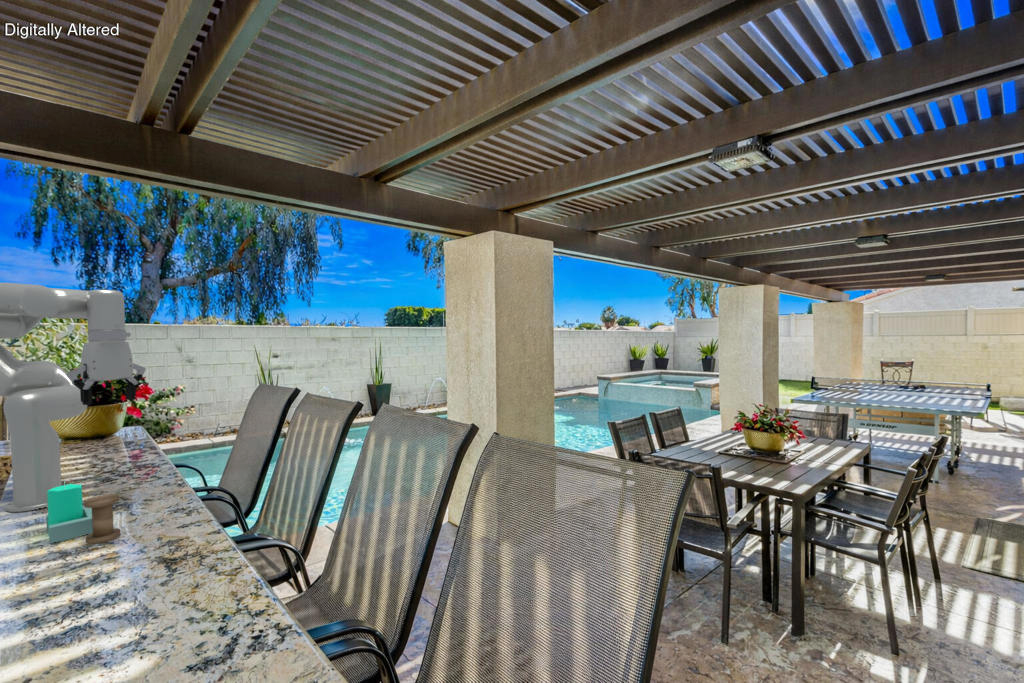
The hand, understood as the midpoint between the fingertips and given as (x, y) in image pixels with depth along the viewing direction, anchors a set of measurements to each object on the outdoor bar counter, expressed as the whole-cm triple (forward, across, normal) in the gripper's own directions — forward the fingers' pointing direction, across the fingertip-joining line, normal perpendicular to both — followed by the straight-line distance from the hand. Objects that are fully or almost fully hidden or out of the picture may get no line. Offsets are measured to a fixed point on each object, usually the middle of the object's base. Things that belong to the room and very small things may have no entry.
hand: (109, 402), depth 128 cm
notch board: (+28, +12, +8) cm, 32 cm away
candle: (+28, +13, +8) cm, 32 cm away
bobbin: (+28, +12, +20) cm, 37 cm away
